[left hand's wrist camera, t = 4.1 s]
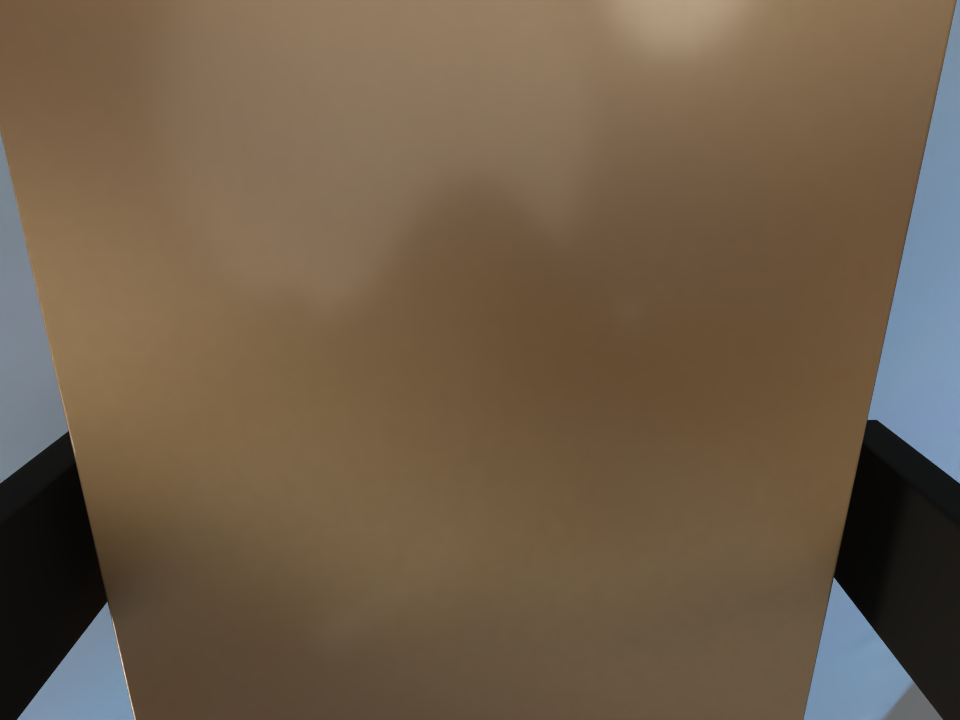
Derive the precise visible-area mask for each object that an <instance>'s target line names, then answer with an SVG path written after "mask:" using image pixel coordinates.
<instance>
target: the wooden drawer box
mask: <svg viewBox="0 0 960 720" xmlns="http://www.w3.org/2000/svg"><path fill="white" fill-rule="evenodd" d="M956 1H957V0H0V131H1V136H2V140H3V144H4V149H5V153H6V158H7V162H8V166H9V171H10V175H11V179H12V184H13V188H14V193H15V197H16V201H17V206H18V210H19V215H20V219H21V223H22V228H23V232H24V237H25V241H26V245H27V250H28V254H29V259H30V263H31V267H32V272H33V276H34V280H35V285H36V289H37V294H38V298H39V302H40V307H41V311H42V316H43V320H44V324H45V329H46V333H47V338H48V342H49V346H50V351H51V355H52V360H53V364H54V368H55V373H56V377H57V381H58V386H59V390H60V395H61V399H62V403H63V408H64V412H65V417H66V421H67V425H68V430H69V434H70V439H71V443H72V447H73V452H74V456H75V461H76V465H77V469H78V474H79V478H80V482H81V487H82V491H83V496H84V500H85V504H86V509H87V513H88V518H89V522H90V526H91V531H92V535H93V540H94V544H95V548H96V553H97V557H98V561H99V566H100V570H101V575H102V579H103V583H104V588H105V592H106V597H107V601H108V605H109V610H110V614H111V619H112V623H113V627H114V632H115V636H116V641H117V645H118V649H119V654H120V658H121V662H122V667H123V671H124V676H125V680H126V684H127V689H128V693H129V698H130V702H131V706H132V711H133V715H134V720H803V719H804V714H805V709H806V705H807V700H808V695H809V691H810V686H811V681H812V677H813V672H814V667H815V662H816V658H817V653H818V648H819V644H820V639H821V634H822V630H823V625H824V620H825V616H826V611H827V606H828V601H829V597H830V592H831V587H832V583H833V578H834V573H835V569H836V564H837V559H838V555H839V550H840V545H841V540H842V536H843V531H844V526H845V522H846V517H847V512H848V508H849V503H850V498H851V494H852V489H853V484H854V479H855V475H856V470H857V465H858V461H859V456H860V451H861V447H862V442H863V437H864V432H865V428H866V423H867V418H868V414H869V409H870V404H871V400H872V395H873V390H874V386H875V381H876V376H877V371H878V367H879V362H880V357H881V353H882V348H883V343H884V339H885V334H886V329H887V325H888V320H889V315H890V310H891V306H892V301H893V296H894V292H895V287H896V282H897V278H898V273H899V268H900V264H901V259H902V254H903V249H904V245H905V240H906V235H907V231H908V226H909V221H910V217H911V212H912V207H913V203H914V198H915V193H916V188H917V184H918V179H919V174H920V170H921V165H922V160H923V156H924V151H925V146H926V141H927V137H928V132H929V127H930V123H931V118H932V113H933V109H934V104H935V99H936V95H937V90H938V85H939V80H940V76H941V71H942V66H943V62H944V57H945V52H946V48H947V43H948V38H949V34H950V29H951V24H952V19H953V15H954V10H955V5H956Z"/></svg>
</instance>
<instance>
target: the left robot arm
mask: <svg viewBox="0 0 960 720" xmlns="http://www.w3.org/2000/svg"><path fill="white" fill-rule="evenodd" d="M834 578H835V579H836V580H837V582H838V583H839V584H840V586H841V587H842V588H843V590H844V591H845V592H846V594H847V595H848V596H849V597H850V599H851V600H852V601H853V603H854V604H855V605H856V607H857V608H858V609H859V610H860V612H861V613H862V614H863V616H864V617H865V618H866V620H867V621H868V622H869V624H870V625H871V626H872V627H873V629H874V630H875V631H876V633H877V634H878V635H879V637H880V638H881V639H882V640H883V642H884V643H885V644H886V646H887V647H888V648H889V650H890V651H891V652H892V654H893V655H894V656H895V657H896V659H897V660H898V661H899V663H900V664H901V665H902V667H903V668H904V669H905V670H906V672H907V673H908V674H909V676H910V677H911V678H912V680H913V681H914V682H915V683H916V685H917V686H918V687H919V689H920V690H921V691H922V693H923V694H924V695H925V697H926V698H927V699H928V700H929V702H930V703H931V704H932V706H933V707H934V708H935V710H936V711H937V712H938V713H939V715H940V716H941V717H942V719H943V720H960V483H958V482H957V481H956V480H954V479H953V478H952V477H950V476H949V475H948V474H947V473H945V472H944V471H943V470H941V469H940V468H939V467H937V466H936V465H935V464H933V463H932V462H931V461H930V460H928V459H927V458H926V457H924V456H923V455H922V454H920V453H919V452H918V451H917V450H915V449H914V448H913V447H911V446H910V445H909V444H907V443H906V442H905V441H904V440H902V439H901V438H900V437H898V436H897V435H896V434H894V433H893V432H892V431H890V430H889V429H888V428H887V427H885V426H884V425H883V424H881V423H880V422H879V421H877V420H867V423H866V428H865V432H864V437H863V442H862V447H861V451H860V456H859V461H858V465H857V470H856V475H855V479H854V484H853V489H852V494H851V498H850V503H849V508H848V512H847V517H846V522H845V526H844V531H843V536H842V540H841V545H840V550H839V555H838V559H837V564H836V569H835V573H834ZM106 603H107V597H106V592H105V588H104V583H103V579H102V575H101V570H100V566H99V561H98V557H97V553H96V548H95V544H94V540H93V535H92V531H91V526H90V522H89V518H88V513H87V509H86V504H85V500H84V496H83V491H82V487H81V482H80V478H79V474H78V469H77V465H76V461H75V456H74V452H73V447H72V443H71V439H70V434H69V431H68V432H67V433H66V434H64V435H63V436H62V437H60V438H59V439H58V440H56V441H55V442H54V443H53V444H51V445H50V446H49V447H47V448H46V449H45V450H43V451H42V452H41V453H40V454H38V455H37V456H36V457H34V458H33V459H32V460H30V461H29V462H28V463H27V464H25V465H24V466H23V467H21V468H20V469H19V470H17V471H16V472H15V473H13V474H12V475H11V476H10V477H8V478H7V479H6V480H4V481H3V482H2V483H0V720H17V719H18V717H19V716H20V715H21V713H22V712H23V711H24V710H25V708H26V707H27V706H28V704H29V703H30V702H31V700H32V699H33V698H34V697H35V695H36V694H37V693H38V691H39V690H40V689H41V687H42V686H43V685H44V683H45V682H46V681H47V680H48V678H49V677H50V676H51V674H52V673H53V672H54V670H55V669H56V668H57V667H58V665H59V664H60V663H61V661H62V660H63V659H64V657H65V656H66V655H67V654H68V652H69V651H70V650H71V648H72V647H73V646H74V644H75V643H76V642H77V640H78V639H79V638H80V637H81V635H82V634H83V633H84V631H85V630H86V629H87V627H88V626H89V625H90V624H91V622H92V621H93V620H94V618H95V617H96V616H97V614H98V613H99V612H100V610H101V609H102V608H103V607H104V605H105V604H106Z"/></svg>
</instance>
